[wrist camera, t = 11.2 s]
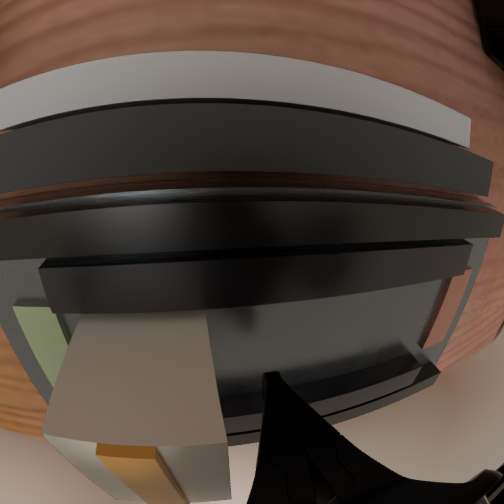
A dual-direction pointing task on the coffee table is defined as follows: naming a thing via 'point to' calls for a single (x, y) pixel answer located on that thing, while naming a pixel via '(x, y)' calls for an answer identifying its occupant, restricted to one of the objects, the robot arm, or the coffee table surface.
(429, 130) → the long gray rectangular block
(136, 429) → the toggle
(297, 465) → the robot arm
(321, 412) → the panel
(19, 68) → the coffee table surface
